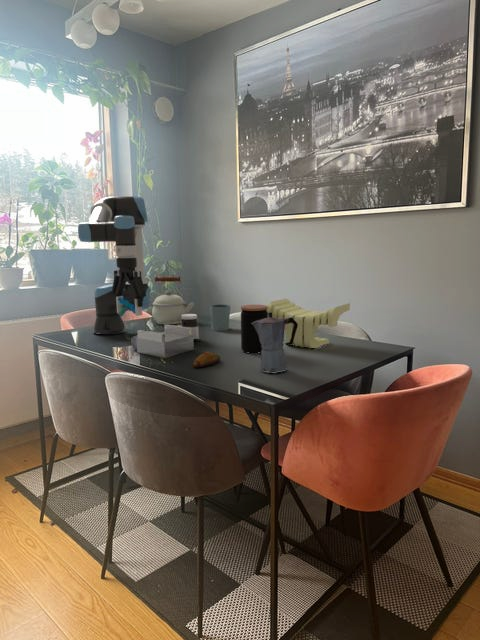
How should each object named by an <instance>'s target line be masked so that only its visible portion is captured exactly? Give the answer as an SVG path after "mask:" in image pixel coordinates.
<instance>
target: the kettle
mask: <svg viewBox="0 0 480 640" xmlns="http://www.w3.org/2000/svg"><path fill="white" fill-rule="evenodd" d="M157 282H163V283H165V282H167V283H168V282H169V283H170V282H179V284H180V285H181V287H182V289H183V290H184V291H185V292H186V295H187V296H186V300H185V301H184V299H183V298H182V297H181V296H180V295H177V294H173V292H172V291H171V290H170V289H167V290H165V292H164V293H165V294H163V295H162V294H160V295H159V296H157V297H156V298H155V299H154V301H153V300H152V297H151V296H150V303H151V304H150V306H151V307H152V309H151V314H152V316H153V318H154V320H155V321H156V324H158V325H180V324H181V320H182V317H181V315H184V314H190V311H191V310H192V308H193V307H194V305H195V302H194V301H193V302H192V301H191V302H190V303H189V304H187V303H188V300H189V292H188V290H187V289H186V287H184V285H183V283H182V276H178V277H176V276H161V277H158V276H154V285H153V286H151V291H152V290H153V289H154V288H155V286H156V284H157Z"/></svg>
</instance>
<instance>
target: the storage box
mask: <svg viewBox="0 0 480 640" xmlns="http://www.w3.org/2000/svg"><path fill="white" fill-rule="evenodd" d="M130 339H131V340H130V345H131V347H132V349H133V350H134V351H136V353H139V354H142V355H143V354H144V355H149V356H154V357H158V358H163V359H164V358H165V359H166V358H169V357H173V356H177V355H180V354H184V353H188V352H190V351H193V350H194V349H195V348H194V347H195V346H194V342H193V335H192V333H191V328H189V327H182V326H178V325H176V324H171V325H164V331H159V330H156V331H149V330H144V329H143V330H142V329H140V330H137V335H133V336H132V337H131V338H130Z"/></svg>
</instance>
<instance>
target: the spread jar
mask: <svg viewBox="0 0 480 640" xmlns="http://www.w3.org/2000/svg"><path fill="white" fill-rule="evenodd" d="M181 317H182V320H181V323H180V324H177V326H182V327H189V328H191V333H192V335H193V343H196V342H198V341H199V339H200V335H199V333H200V332H199V320H198V315H197V314H196V313H188V314H184V315H181Z"/></svg>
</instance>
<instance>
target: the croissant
mask: <svg viewBox="0 0 480 640" xmlns="http://www.w3.org/2000/svg"><path fill="white" fill-rule="evenodd" d="M220 360H221V356H220V355H219V354H217V353H212V352H210V351H208V350H207V351H205V352H202V353H201V354H199V355H198V357H197V358H196V359H194V361H193V363H192V366H193V368H196V369H198V368H204V367H207V366H212V365H215V364H216V363H218V362H220Z"/></svg>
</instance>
